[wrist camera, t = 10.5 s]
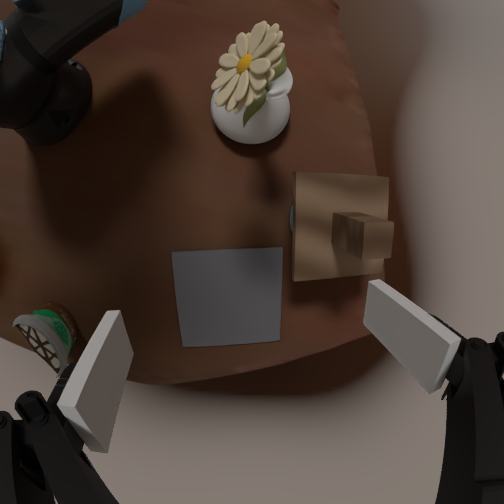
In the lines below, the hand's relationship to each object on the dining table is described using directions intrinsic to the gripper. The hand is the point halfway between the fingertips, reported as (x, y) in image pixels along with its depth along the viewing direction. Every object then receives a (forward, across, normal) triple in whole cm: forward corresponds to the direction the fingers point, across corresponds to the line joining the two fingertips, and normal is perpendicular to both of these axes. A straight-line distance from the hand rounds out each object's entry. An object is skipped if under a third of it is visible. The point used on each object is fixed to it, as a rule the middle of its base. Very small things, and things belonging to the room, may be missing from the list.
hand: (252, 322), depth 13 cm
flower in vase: (+29, +5, +16) cm, 33 cm away
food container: (+29, -31, -14) cm, 45 cm away
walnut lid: (+21, +16, -1) cm, 27 cm away
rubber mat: (+28, 0, -13) cm, 31 cm away
